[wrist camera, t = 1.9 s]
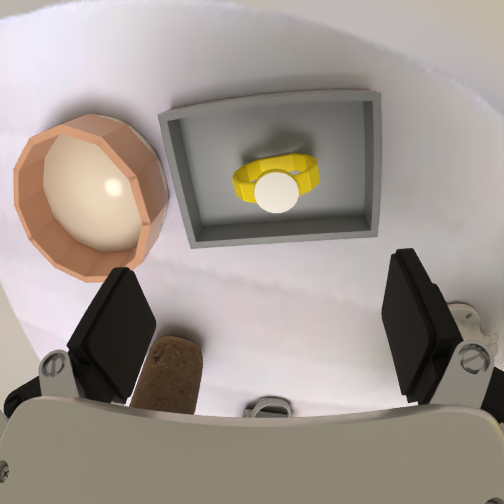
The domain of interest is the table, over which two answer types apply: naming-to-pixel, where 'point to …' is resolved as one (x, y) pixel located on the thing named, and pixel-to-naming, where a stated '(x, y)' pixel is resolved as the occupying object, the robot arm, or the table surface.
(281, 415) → the ceramic mug
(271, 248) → the table surface
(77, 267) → the bowl
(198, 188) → the parts tray
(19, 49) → the table surface
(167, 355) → the stone
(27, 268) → the table surface
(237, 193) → the watch
